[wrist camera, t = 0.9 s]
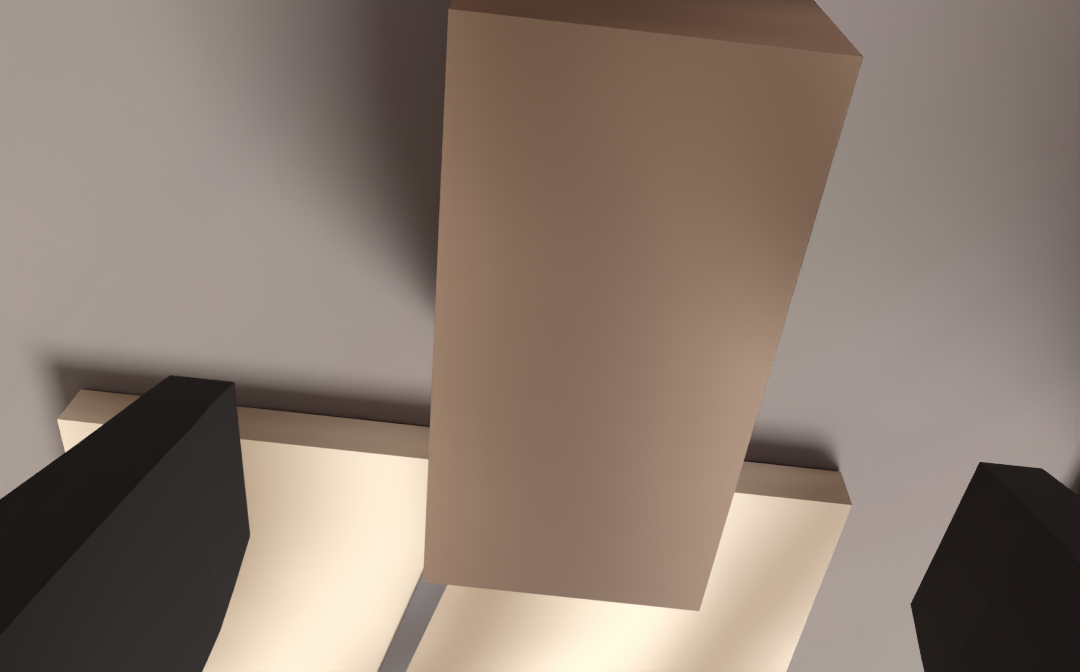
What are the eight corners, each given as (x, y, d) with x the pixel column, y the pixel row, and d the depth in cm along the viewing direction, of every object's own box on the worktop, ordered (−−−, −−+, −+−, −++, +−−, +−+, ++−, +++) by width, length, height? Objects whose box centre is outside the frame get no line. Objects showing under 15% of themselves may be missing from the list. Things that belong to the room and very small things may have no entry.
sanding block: (763, -58, 14) (862, 57, 9) (668, 371, 18) (699, 610, 13) (500, -89, 14) (448, 8, 9) (469, 349, 18) (422, 582, 13)
